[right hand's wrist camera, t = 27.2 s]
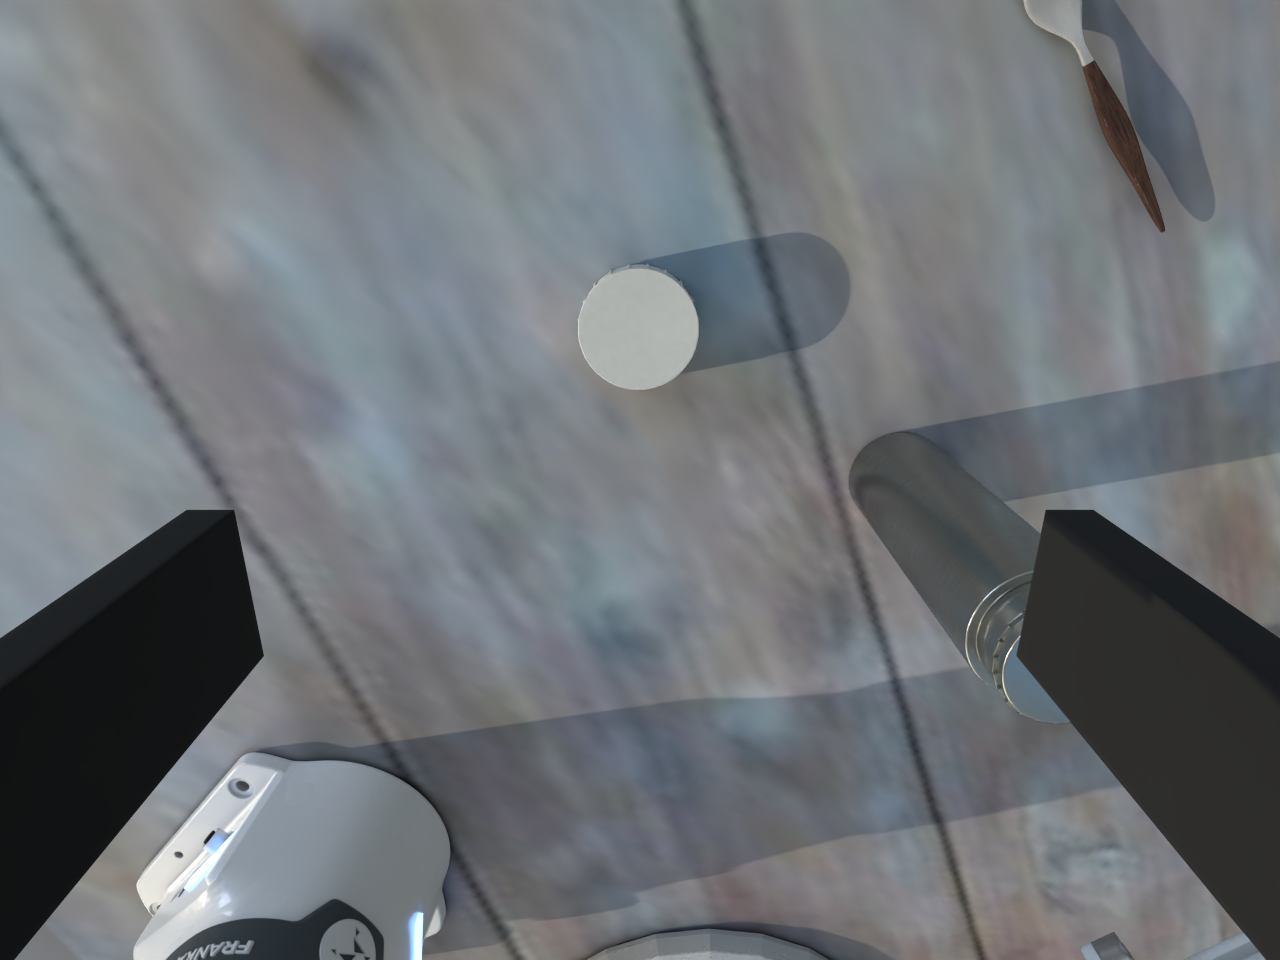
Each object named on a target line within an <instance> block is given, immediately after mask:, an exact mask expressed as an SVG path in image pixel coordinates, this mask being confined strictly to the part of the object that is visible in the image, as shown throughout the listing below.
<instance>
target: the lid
mask: <svg viewBox="0 0 1280 960" xmlns="http://www.w3.org/2000/svg"><path fill="white" fill-rule="evenodd" d="M593 286H594V287H593V288H592V289H591V291H590V292H589V294H588V296H586V297H585V298H584V300H583V303H584V304H583V306H582V309H581V312H580V316H579V318H578V321H579V323H578V336H579V338H578V340H579V342H580V346H581V349H582V352H583V354H584V357H585V358H586V360H587V361H588V363H589V365H590V366H591V367H592V368H593V369H594V371H595V372H596V373H597V374H599V375H600V376H601V377H602V378H604V379H605V380H606V381H608V382H610V383H612V384H614V385H616V386H619V387H622V388H626V389H633V390H645V389H652V388H655V387H659V386H661V385H663V384H666V383H667V382H669V381H671V380H672V379H674V378H675V377H676V376H678V375H679V374H680V373H681V372H682V371H683V370H684V369H685V367H686V366H687V365H688V363H689V362H690V360H691V358H692V357H693V354H694V352H695V350H696V346H697V343H698V339H699V321H698V320H699V317H698V315H697V312H696V309H695V306H694V304H693V302H694V300H693V298H692V296H689V294H688V292H687V290H686V289H685V288H684V286H683V284H682V282H681V280H680V281H678V280H677V279H676V278H675V277H674V276H672V275H671V274H670V273H668V272H667V270H666V269H665V270H662V269H660V268H657V267H654V266H650V265H649V264H646V265H642V264H635V265H630V264H628V265H627V266H623V267H620V268H617V269H615V270H613V271H612V270H610V272H609V273H608V274H606V275H605V276H604V277H602V278H601V279H600V280H599V281H598V282H597V281H596V282H595V283H594V285H593Z"/></svg>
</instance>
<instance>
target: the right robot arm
mask: <svg viewBox="0 0 1280 960" xmlns="http://www.w3.org/2000/svg"><path fill="white" fill-rule="evenodd" d="M263 656H264V654H263V650H262V645H261V640H260V635H259V630H258V625H257V620H256V615H255V610H254V605H253V600H252V595H251V591H250V586H249V581H248V576H247V571H246V566H245V561H244V556H243V551H242V546H241V541H240V536H239V532H238V527H237V522H236V517H235V512H234V510H186V511H185V512H183V513H182V514H180V515H179V516H177V517H176V518H174V519H173V520H171V521H170V522H169V523H167V524H166V525H164V526H163V527H161V528H160V529H158V530H157V531H155V532H154V533H153V534H151V535H150V536H148V537H147V538H145V539H144V540H142V541H141V542H140V543H138V544H137V545H135V546H134V547H132V548H131V549H129V550H128V551H126V552H125V553H124V554H122V555H121V556H119V557H118V558H116V559H115V560H113V561H112V562H110V563H109V564H108V565H106V566H105V567H103V568H102V569H100V570H99V571H97V572H96V573H94V574H93V575H92V576H90V577H89V578H87V579H86V580H84V581H83V582H81V583H80V584H79V585H77V586H76V587H74V588H73V589H71V590H70V591H68V592H67V593H65V594H64V595H63V596H61V597H60V598H58V599H57V600H55V601H54V602H52V603H51V604H49V605H48V606H47V607H45V608H44V609H42V610H41V611H39V612H38V613H36V614H35V615H33V616H32V617H31V618H29V619H28V620H26V621H25V622H23V623H22V624H20V625H19V626H18V627H16V628H15V629H13V630H12V631H10V632H9V633H7V634H6V635H4V636H3V637H2V638H0V960H14V959H15V958H16V957H17V956H18V954H19V953H20V952H21V951H22V950H23V948H24V947H25V946H26V945H27V944H28V942H29V941H30V940H31V939H32V937H33V936H34V935H35V934H36V933H37V931H38V930H39V929H40V928H41V926H42V925H43V924H44V923H45V922H46V920H47V919H48V918H49V917H50V916H51V914H52V913H53V912H54V911H55V909H56V908H57V907H58V906H59V905H60V903H61V902H62V901H63V900H64V898H65V897H66V896H67V895H68V894H69V892H70V891H71V890H72V889H73V888H74V886H75V885H76V884H77V883H78V881H79V880H80V879H81V878H82V877H83V875H84V874H85V873H86V872H87V870H88V869H89V868H90V867H91V866H92V864H93V863H94V862H95V861H96V860H97V858H98V857H99V856H100V855H101V853H102V852H103V851H104V850H105V849H106V847H107V846H108V845H109V844H110V842H111V841H112V840H113V839H114V838H115V836H116V835H117V834H118V833H119V832H120V830H121V829H122V828H123V827H124V825H125V824H126V823H127V822H128V821H129V819H130V818H131V817H132V816H133V814H134V813H135V812H136V811H137V810H138V808H139V807H140V806H141V805H142V804H143V802H144V801H145V800H146V799H147V797H148V796H149V795H150V794H151V793H152V791H153V790H154V789H155V788H156V786H157V785H158V784H159V783H160V782H161V780H162V779H163V778H164V777H165V776H166V774H167V773H168V772H169V771H170V769H171V768H172V767H173V766H174V765H175V763H176V762H177V761H178V760H179V758H180V757H181V756H182V755H183V754H184V752H185V751H186V750H187V749H188V748H189V746H190V745H191V744H192V743H193V741H194V740H195V739H196V738H197V737H198V735H199V734H200V733H201V732H202V730H203V729H204V728H205V727H206V726H207V724H208V723H209V722H210V721H211V720H212V718H213V717H214V716H215V715H216V713H217V712H218V711H219V710H220V709H221V707H222V706H223V705H224V704H225V702H226V701H227V700H228V699H229V698H230V696H231V695H232V694H233V693H234V692H235V690H236V689H237V688H238V687H239V685H240V684H241V683H242V682H243V681H244V679H245V678H246V677H247V676H248V674H249V673H250V672H251V671H252V670H253V668H254V667H255V666H256V665H257V664H258V662H259V661H260V660H261V659H262V657H263ZM1016 656H1017V657H1018V659H1019V660H1020V661H1021V662H1022V664H1023V665H1024V666H1025V667H1026V668H1027V670H1028V671H1029V672H1030V673H1031V674H1032V676H1033V677H1034V678H1035V679H1036V681H1037V682H1038V683H1039V684H1040V685H1041V687H1042V688H1043V689H1044V690H1045V692H1046V693H1047V694H1048V695H1049V696H1050V698H1051V699H1052V700H1053V701H1054V702H1055V704H1056V705H1057V706H1058V707H1059V709H1060V710H1061V711H1062V712H1063V713H1064V715H1065V716H1066V717H1067V718H1068V720H1069V721H1070V722H1071V723H1072V724H1073V726H1074V727H1075V728H1076V729H1077V730H1078V732H1079V733H1080V734H1081V735H1082V737H1083V738H1084V739H1085V740H1086V741H1087V743H1088V744H1089V745H1090V746H1091V748H1092V749H1093V750H1094V751H1095V752H1096V754H1097V755H1098V756H1099V757H1100V758H1101V760H1102V761H1103V762H1104V763H1105V765H1106V766H1107V767H1108V768H1109V769H1110V771H1111V772H1112V773H1113V774H1114V776H1115V777H1116V778H1117V779H1118V780H1119V782H1120V783H1121V784H1122V785H1123V786H1124V788H1125V789H1126V790H1127V791H1128V793H1129V794H1130V795H1131V796H1132V797H1133V799H1134V800H1135V801H1136V802H1137V804H1138V805H1139V806H1140V807H1141V808H1142V810H1143V811H1144V812H1145V813H1146V814H1147V816H1148V817H1149V818H1150V819H1151V821H1152V822H1153V823H1154V824H1155V825H1156V827H1157V828H1158V829H1159V830H1160V832H1161V833H1162V834H1163V835H1164V836H1165V838H1166V839H1167V840H1168V841H1169V842H1170V844H1171V845H1172V846H1173V847H1174V849H1175V850H1176V851H1177V852H1178V853H1179V855H1180V856H1181V857H1182V858H1183V860H1184V861H1185V862H1186V863H1187V864H1188V866H1189V867H1190V868H1191V869H1192V870H1193V872H1194V873H1195V874H1196V875H1197V877H1198V878H1199V879H1200V880H1201V881H1202V883H1203V884H1204V885H1205V886H1206V888H1207V889H1208V890H1209V891H1210V892H1211V894H1212V895H1213V896H1214V897H1215V898H1216V900H1217V901H1218V902H1219V903H1220V905H1221V906H1222V907H1223V908H1224V909H1225V911H1226V912H1227V913H1228V914H1229V916H1230V917H1231V918H1232V919H1233V920H1234V922H1235V923H1236V924H1237V925H1238V926H1239V928H1240V929H1241V930H1242V931H1243V933H1244V934H1245V935H1246V936H1247V937H1248V939H1249V940H1250V941H1251V942H1252V944H1253V945H1254V946H1255V947H1256V948H1257V950H1258V951H1259V952H1260V953H1261V954H1262V956H1263V957H1264V958H1265V959H1266V960H1280V638H1278V637H1277V636H1276V635H1274V634H1273V633H1271V632H1270V631H1268V630H1267V629H1265V628H1264V627H1262V626H1261V625H1260V624H1258V623H1257V622H1255V621H1254V620H1252V619H1251V618H1249V617H1248V616H1247V615H1245V614H1244V613H1242V612H1241V611H1239V610H1238V609H1236V608H1235V607H1233V606H1232V605H1231V604H1229V603H1228V602H1226V601H1225V600H1223V599H1222V598H1220V597H1219V596H1217V595H1216V594H1215V593H1213V592H1212V591H1210V590H1209V589H1207V588H1206V587H1204V586H1203V585H1201V584H1200V583H1199V582H1197V581H1196V580H1194V579H1193V578H1191V577H1190V576H1188V575H1187V574H1186V573H1184V572H1183V571H1181V570H1180V569H1178V568H1177V567H1175V566H1174V565H1172V564H1171V563H1170V562H1168V561H1167V560H1165V559H1164V558H1162V557H1161V556H1159V555H1158V554H1156V553H1155V552H1154V551H1152V550H1151V549H1149V548H1148V547H1146V546H1145V545H1143V544H1142V543H1140V542H1139V541H1138V540H1136V539H1135V538H1133V537H1132V536H1130V535H1129V534H1127V533H1126V532H1125V531H1123V530H1122V529H1120V528H1119V527H1117V526H1116V525H1114V524H1113V523H1111V522H1110V521H1109V520H1107V519H1106V518H1104V517H1103V516H1101V515H1100V514H1098V513H1097V512H1095V511H1094V510H1046V512H1045V517H1044V522H1043V527H1042V532H1041V536H1040V541H1039V546H1038V551H1037V556H1036V561H1035V566H1034V571H1033V576H1032V581H1031V586H1030V591H1029V595H1028V600H1027V605H1026V610H1025V615H1024V620H1023V625H1022V630H1021V635H1020V640H1019V645H1018V650H1017V654H1016Z"/></svg>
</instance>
